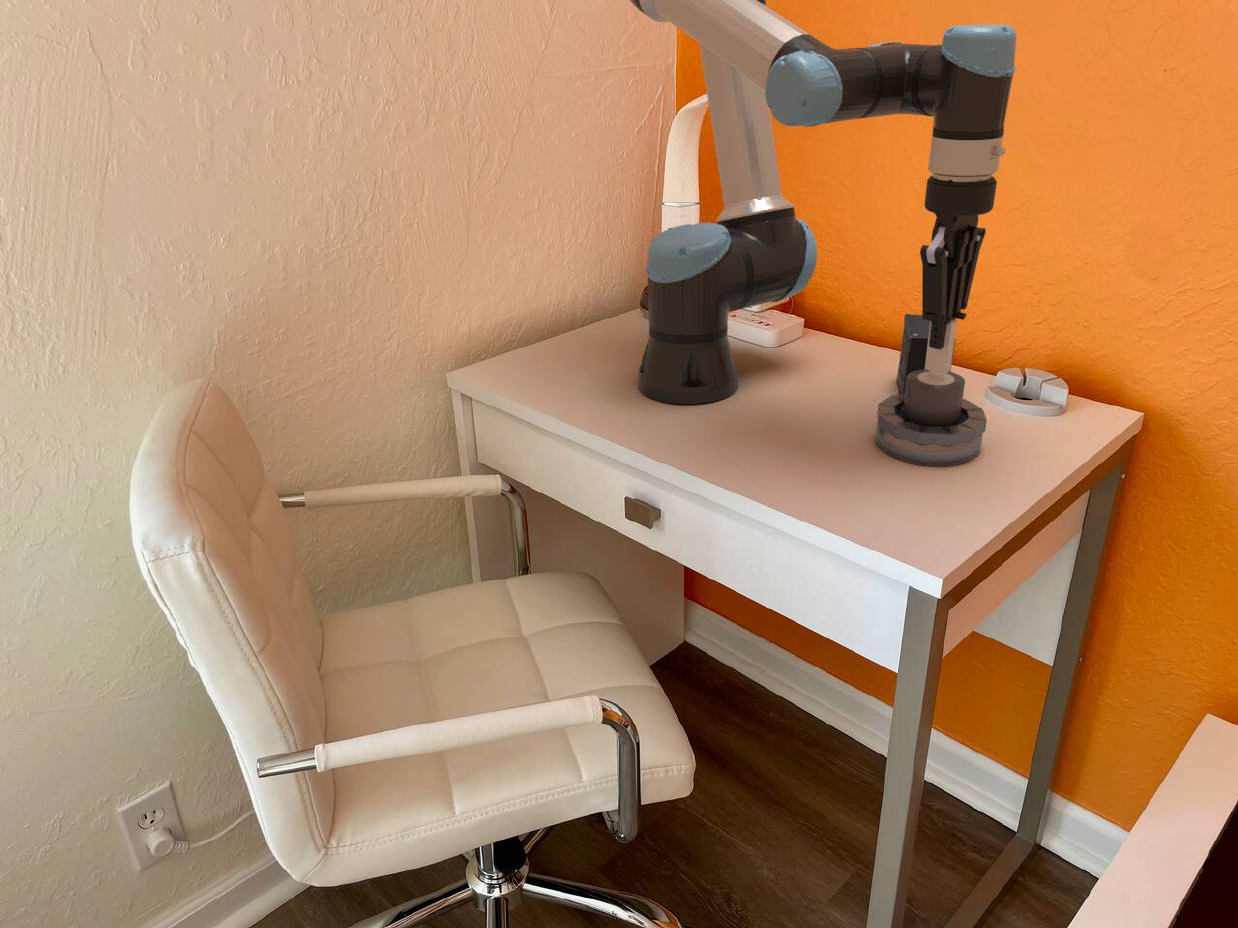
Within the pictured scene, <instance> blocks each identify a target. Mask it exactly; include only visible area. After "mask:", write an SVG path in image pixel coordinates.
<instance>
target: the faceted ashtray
mask: <svg viewBox="0 0 1238 928" xmlns="http://www.w3.org/2000/svg"><path fill="white" fill-rule="evenodd" d="M904 397H905V393H904V394H899V393H898V394H894V395H893V394H892V395H890V396H888V397H886V398H885V399H884V400H882V401H881V402H879V403H878V404H877V412H876V413H877V414H876V417H877V421H876V422H877V423H876V432H875V444H876V446H877V448H878V449H879V450H880V451H881V452H883V453H884V454H885V455H887V456H889V457H891V458H892V459H893V458H894V459H896V460H898V461H901V462H904V463H909V464H913V465H917V466H922V467H937V468H939V467H941V468H942V467H953V466H954V467H955V466H958V465H963V464H966V463H969V462H971V461H973V460H974V459H976V458H977V457H978V456H979V454H980V452H981V445H982V440H983V434H984V433H985V431H986V428H987V418H986V414H985V411H984V409H983V408H982V407H980V406H978V405H976V404H974V403H973V402H971V401H969V400H968V399H966V398H963V401H962V408H961V415H960V422H959V425H954V426H949V427H929V426H922V425H918V424H914V423H911V422H907V421H905V420H903V419H902V415H903V406H904Z"/></svg>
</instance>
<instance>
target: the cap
mask: <svg viewBox="0 0 1238 928" xmlns="http://www.w3.org/2000/svg"><path fill="white" fill-rule="evenodd" d="M965 386H966V380H965V378H964V377H963V376H962V375H960V374H958V373H955V372H952V371H951V372H948V373H946V374H942V373H938V372H934V371H929V370H925V369H924V370H917V371H913V372H911V373H909V374H908V375H907V380H906V388H905V397H904V406H903V415H902V419H903V420H905V421H907V422H911V423H914V424H918V425H922V426H929V427H949V426H954V425H959V422H960V415H961V408H962V401H963V399H964V394H965V393H964V391H965Z"/></svg>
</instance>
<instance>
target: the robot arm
mask: <svg viewBox="0 0 1238 928" xmlns="http://www.w3.org/2000/svg"><path fill="white" fill-rule="evenodd" d="M629 2H631V4H632V5H633V6H634V7H636V9H637V10H639V11H640V12H642V14H644V15H646V17H648V18H649V19H651V20H653V21H655V22H658V23H667V22H669V23H671V24H672V25H674V26H675V27H676V28H677V29H679V30H680V31H682V32H683V33H685V34H686V35H688V36H689V37H690V38H692V39H693V40H694V41H696V42H697V43H698V44H699V51H700V59H701V63H702V70H703V75H704V76H703V78H704V83H705V89H706V90H705V91H706V95H707V96H706V97H707V102H708V109H709V116H710V121H711V128H712V134H713V141H714V147H715V154H716V161H717V166H718V173H719V179H720V180H719V181H720V187H721V193H722V199H723V204H724V205H723V209H722V211H721V212H720V214H719V215H718V217H717V218H716V223H713V222H697V223H695V224H691V223H687V224H686V223H685V224H682V225H678V226H674V227H671V228H668V229H666V230H663V231H661V232H659V234H657V235H655V236H654V237H653V239H652V240H651V242H650V243H649V246H648V248H647V249H648V250H647V264H646V269H645V270H646V275H647V296H648V297H647V301H648V340H647V343H646V347H645V350H644V353H643V356H642V359H641V363H640V366H639V370H638V374H637V375H638V376H637V377H638V379H637V380H638V381H637V382H638V389H639V391H640V392H641V393H642V394H644V396H646V397H648V398H650V399H653V400H656V401H659V402H663V403H669V404H673V405H674V404H677V405H700V404H706V403H712V402H717V401H720V400H723V399H725V398H728V397H729V396H732V395H733V394H734V393H735V392H736V391H737V390H738V387H739V370H738V367H737V364H736V363H735V358H734V354H733V351H732V347H731V345H730V341H729V338H728V330H729V329H728V324H729V323H728V320H729V313H730V312H734V311H738V310H742V309H743V310H744V309H746V308H750V307H755V306H759V305H763V304H767V303H775V302H777V303H778V302H780V301H783V300H785V299H786V298H790V297H793V296H795V295H797V294H799V293H800V292H801V291H803V290H804V289H805V288H807V285H808V284H809V281H810V280H811V279H812V277H813V276H814V273H815V269H816V266H817V261H818V260H817V259H818V247H817V241H816V238H815V235H814V233H813V231H812V229H809V225H808V224H807V223H806V222H805V221H804V220H802V219H799V218H798V217H796V212H795V205H794V204H793V203H792V202H790V201H789V200H788V199H787V198H785V197H784V195H783V194H782V187H781V179H780V173H779V166H778V165H779V164H778V159H777V158H778V157H777V152H776V144H775V138H774V136H775V135H774V131H773V123H772V117H773V118H774V119H775V120H776V121H777V122H778V123H779V124H781V125H783V126H785V127H786V126H787V127H806V128H807V127H808V128H812V127H817V126H820V125H824V124H825V125H826V124H831V123H838V122H844V121H850V120H860V119H868V118H878V117H884V116H892V115H913V116H926V117H933V123H932V124H933V125H932V134H931V142H930V150H929V156H928V157H929V158H928V165H927V167H928V168H927V169H928V171H929V172H930V173H931V174H932V175H930V176H929V177H928V178H927V180H926V188H925V196H924V208H925V209H926V210H927V211H928V212H929V213H930V212H931V213H933V214H934V215H935V217H936V219H935V221H934V225H933V229H932V232H931V243H930V245H925V244H922V246H921V248H920V251H919V255H920V259H921V263H922V270H921V271H922V273H921V276H922V283H921V284H922V285H921V286H922V291H921V292H922V296H921V298H922V300H921V302H922V303H921V304H922V306H921V312H922V313H921V315H922V318H923V319H924V320H929V321H930V328H929V337H928V345H927V353H926V361H925V370H929V371H934V372H938V373H942V374H946V373H948V372H949V371H950V369H951V370H952V365H951V362H952V363H953V359H952V354H953V355H954V352H953V347H954V348H955V345H954V340H955V341H956V333H957V332H956V331H957V323H958V320H965V319H966V317H967V313H965V312H962V310H964V311H965V310H966V309H967V306H968V302H969V300H970V299H969V298H970V295H971V294H970V293H971V290H972V285H973V281H974V276H975V271H976V269H977V263H978V259H979V254H980V250H981V248H982V245H983V244H982V243H983V241H984V239H985V236H986V232H987V229H986V228H985V227H978V224H979V216H981V215H986V214H987V213H990V212H991V211H992V210H993V209H994V204H995V197H996V192H997V190H996V189H997V186H998V185H997V183H998V181H997V179H996V177H994V176H992V175H995V174H996V173H997V172H998V171H999V166H1000V160H1001V157H1002V156H1004V155H1005V153H1006V148H1005V147H1004V146H1002V145H1003V141H1004V140H1003V138H1004V132H1005V123H1006V122H1005V121H1006V115H1007V109H1008V104H1009V98H1010V94H1011V93H1010V92H1011V88H1012V82H1013V78H1014V77H1013V76H1014V74H1015V71H1016V70H1015V69H1016V66H1015V59H1016V47H1017V33H1016V30H1015V28H1014V27H1012V26H1010V25H1009V24H1008V25H1007V24H963V25H951V26H949V27H948V28H947V29H946V30H945V31H944V33H943V38H942V41H941V44H937V45H936V44H916V43H902V42H899V41H898V42H897V41H893V42H882V43H874V44H871V45H869V46H866V47H853V48H852V47H851V48H833V47H831V46H829V45H827V44H826V43H824V42H822V41H821V40H819V39H817V38H816V37H814V36H813V35H812V34H809V33H808V32H806V30H804V29H802V28H800V27H799V26H797V25H795V23H792V22H791V21H790V20H788V19H786V18H785V17H783V16H782V15H780V14H779V13H777V12H776V11H773V9H771V8H769V7H767V4H766V2H767V1H766V0H629ZM771 115H772V116H771ZM956 319H957V320H956Z"/></svg>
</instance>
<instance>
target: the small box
mask: <svg viewBox="0 0 1238 928" xmlns="http://www.w3.org/2000/svg"><path fill="white" fill-rule="evenodd" d="M903 317H904V320H903V330H902V331H903V332H902V340H901V345H900V346H901V348H900V355H899V361H898V368H897V369H898V370H897V375H896V385H897V391H898V395H899V394H904V393H905V388H906V380H907V375H908V374H909V373H911V372H913V371H917V370H924V369H925V361H926V353H927V345H928V337H929V328H930V321H929V320H924V319H923V318H922V314H911V313H910V314H909V313H905V314H904V316H903ZM955 344H956V339H955V340H954V347H953V354H952V360H953V357H954V353H955V352H954V350H955V346H956V345H955ZM952 365H953V361H952V362H951V366H952ZM949 372H952V368H951V369H950V371H949Z"/></svg>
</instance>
